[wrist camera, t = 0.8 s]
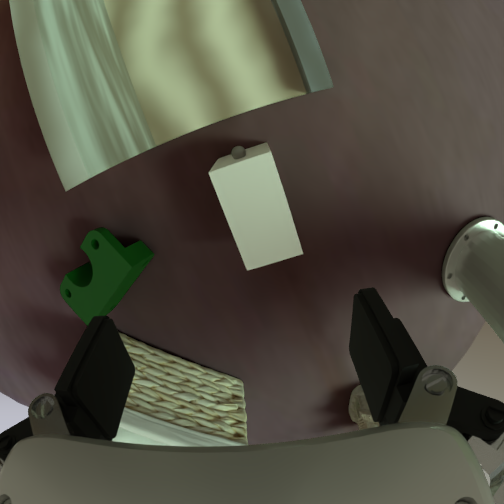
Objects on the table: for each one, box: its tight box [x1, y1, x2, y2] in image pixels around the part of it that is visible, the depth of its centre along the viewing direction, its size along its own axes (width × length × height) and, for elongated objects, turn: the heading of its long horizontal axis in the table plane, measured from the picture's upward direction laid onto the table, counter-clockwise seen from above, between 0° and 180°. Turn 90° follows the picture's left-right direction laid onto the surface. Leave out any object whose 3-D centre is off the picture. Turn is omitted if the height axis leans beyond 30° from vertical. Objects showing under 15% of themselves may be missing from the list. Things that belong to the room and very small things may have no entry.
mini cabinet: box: [209, 142, 303, 271], centre depth 28 cm, size 5×10×7 cm, turn 19°
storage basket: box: [112, 332, 248, 447], centre depth 37 cm, size 24×16×15 cm
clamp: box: [60, 227, 154, 326], centre depth 32 cm, size 12×6×9 cm, turn 131°
